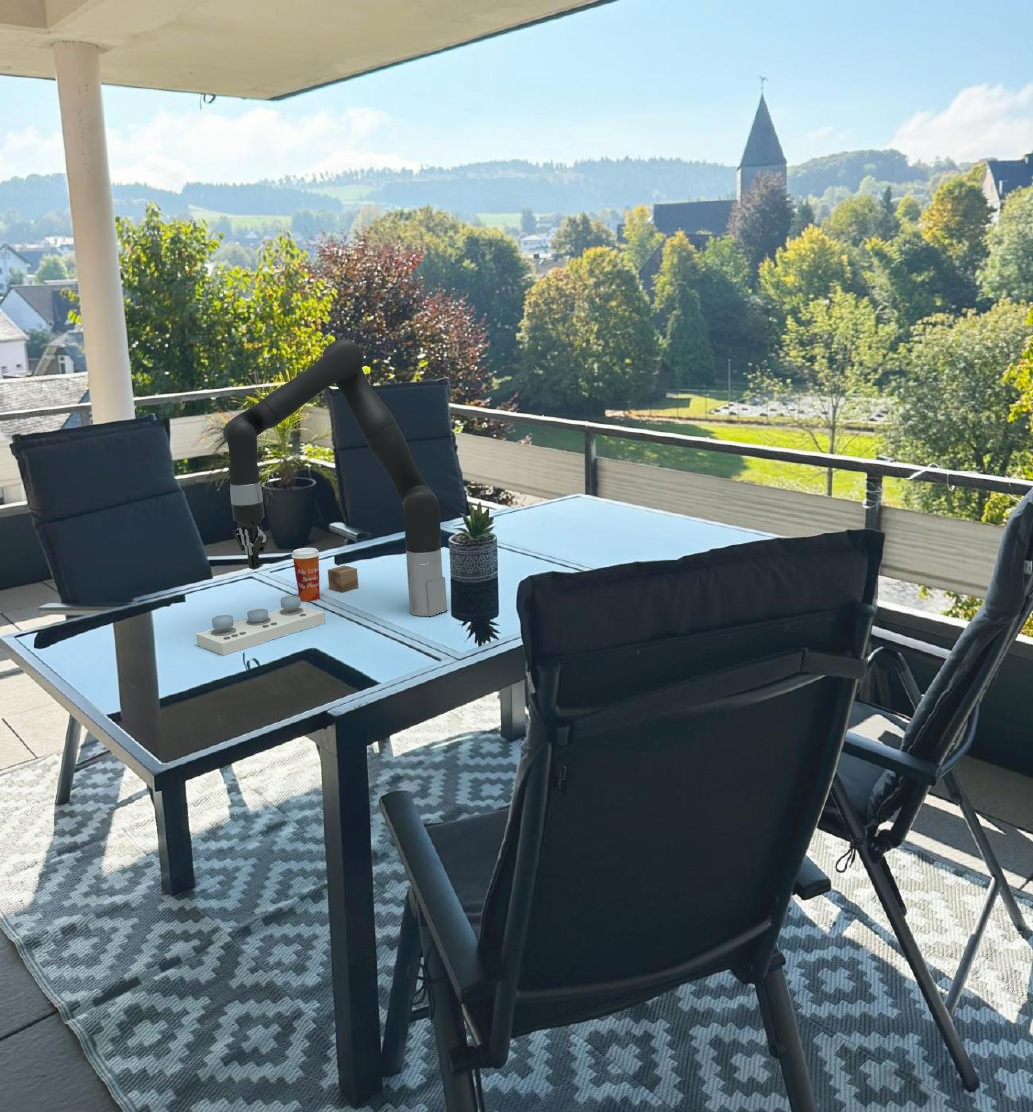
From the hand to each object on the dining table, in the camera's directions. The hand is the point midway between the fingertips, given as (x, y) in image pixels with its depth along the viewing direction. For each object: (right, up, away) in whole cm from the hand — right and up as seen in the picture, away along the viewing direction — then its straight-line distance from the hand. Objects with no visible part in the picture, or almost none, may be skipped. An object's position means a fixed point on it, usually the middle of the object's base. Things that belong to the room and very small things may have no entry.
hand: (254, 568), depth 251 cm
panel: (+1, -17, +3) cm, 17 cm away
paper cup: (+7, -9, +32) cm, 34 cm away
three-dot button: (-7, -14, -4) cm, 16 cm away
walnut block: (+15, -7, +41) cm, 44 cm away
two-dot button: (0, -13, +3) cm, 13 cm away
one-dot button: (+7, -10, +10) cm, 16 cm away
